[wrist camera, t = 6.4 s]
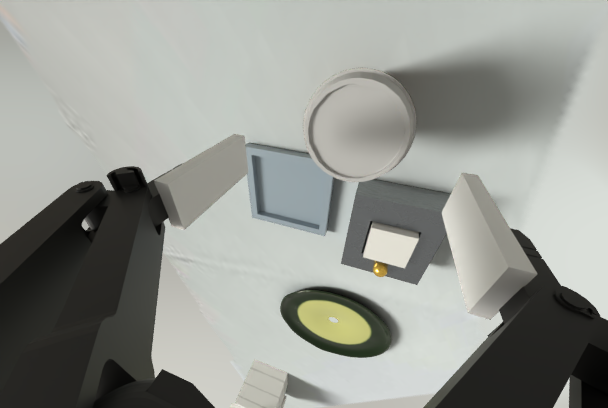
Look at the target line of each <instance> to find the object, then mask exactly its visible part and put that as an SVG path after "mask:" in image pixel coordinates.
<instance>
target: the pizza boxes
mask: <svg viewBox="0 0 608 408" xmlns="http://www.w3.org/2000/svg"><path fill="white" fill-rule="evenodd" d="M287 385H288V373H287V372H285V371H282V370H280V369H277V368H275V367H272V366H270V365H268V364H265V363H263V362H260V361H258V360H255V359H254V361H253V363H252V366H251V368H250V370H249V372H248V375H247V377H246V379H245V381H244V384H243V386H242V388H241V390H240V393H239V395H238V397H237V400H236V402H235V403H236V404H233V403H232V404H231V406H230V408H283V406H284V404H285V400H286V396H285V392H286V388H287Z"/></svg>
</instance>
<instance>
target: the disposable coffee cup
mask: <svg viewBox="0 0 608 408" xmlns="http://www.w3.org/2000/svg"><path fill="white" fill-rule="evenodd" d="M416 124H417V121H416V112H415V107H414V105H413V102H412V100H411V97H410V95H409V94H408V92H407V91H406V90H405V88H404V87H403V85H402V84H401V83H400V82H399V81H397V80H396V79H395V78H393V77H391V76H390V75H388V74H386V73H384V72H381V71H378V70H375V69H368V68H354V69H349V70H345V71H343V72H340V73H338V74H335V75H333V76H332V77H330V78H329V79H327V80H326V81H325V82H323V83H322V84H321V85H320V86H319V87H318V88H317V89H316V91H315V92H314V94H313V95H312V97H311V99H310V100H309V102H308V105H307V108H306V110H305V115H304V120H303V132H304V139H305V143H306V147H307V149H308V152H309V154H310V156H311V158H312V159H313V161H314V162H315V163H316V164H317V166H318V167H320V168H321V169H322V170H323V171H324V172H326V173H327V174H329V175H331V176H333V177H335V178H336V179H340V180H343V181H348V182H364V181H369V180H373V179H375V178H378V177H380V176H382V175H384V174H385V173H387V172H389V171H390V170H391V169H393V168H394V167H396V166H397V165H398V164H399V163H400V162H401V160H402V159H403V158H404V157H405V156H406V154H407V153H408V151H409V149H410V148H411V145H412V143H413V140H414V137H415V132H416Z"/></svg>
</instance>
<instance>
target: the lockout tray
mask: <svg viewBox="0 0 608 408" xmlns="http://www.w3.org/2000/svg"><path fill="white" fill-rule="evenodd" d="M245 146H246V155H247V164H248V173H247V178H248V186H249V194H250V203H251V211H252V218H256V219H260V220H264V221H268V222H272V223H276V224H279V225H283V226H287V227H291V228H295V229H299V230H303V231H307V232H311V233H314V234H318V235H322V236H325V235H326V232H327V227H328V220H329V213H330V205H331V198H332V191H333V184H334V177H333V176H331V175H329V174H327V173H326V172H324V171H323V170H322V169H321V168H320V167H318V166H317V164H316V163H315V162H314V161H313V159H312V158H311V156H310V154H309V153H303V152H297V151H292V150H286V149H280V148H275V147H269V146H263V145H258V144H252V143H248V144H246V145H245Z"/></svg>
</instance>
